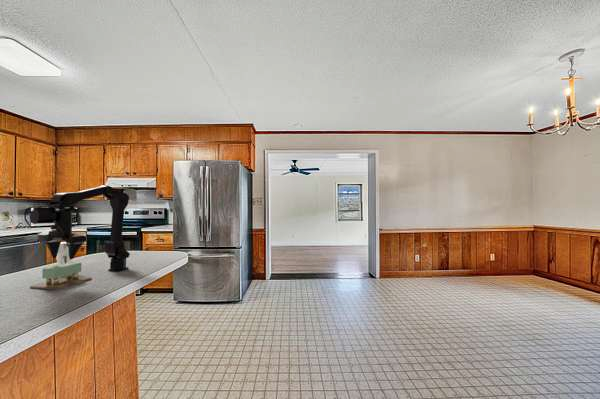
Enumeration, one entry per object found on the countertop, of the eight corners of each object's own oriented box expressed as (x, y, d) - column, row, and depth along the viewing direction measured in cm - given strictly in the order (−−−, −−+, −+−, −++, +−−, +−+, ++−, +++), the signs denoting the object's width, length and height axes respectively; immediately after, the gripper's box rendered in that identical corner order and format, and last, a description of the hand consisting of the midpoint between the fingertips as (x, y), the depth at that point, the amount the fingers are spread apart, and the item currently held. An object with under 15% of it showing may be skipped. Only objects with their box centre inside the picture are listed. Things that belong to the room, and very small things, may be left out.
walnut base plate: (70, 277, 128) (70, 269, 128) (91, 279, 125) (91, 271, 125) (30, 288, 112) (30, 278, 112) (53, 290, 110) (53, 281, 110)
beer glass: (77, 271, 138) (78, 241, 138) (64, 275, 131) (65, 243, 131) (65, 271, 139) (65, 241, 139) (51, 274, 132) (51, 243, 132)
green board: (70, 270, 125) (70, 262, 125) (81, 271, 124) (81, 262, 124) (42, 278, 113) (42, 268, 113) (54, 278, 112) (54, 269, 112)
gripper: (24, 223, 113) (23, 261, 113) (60, 224, 109) (59, 264, 109) (54, 221, 124) (53, 256, 124) (87, 222, 120) (87, 258, 120)
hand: (62, 258), depth 119 cm, fingers open, 9 cm apart
